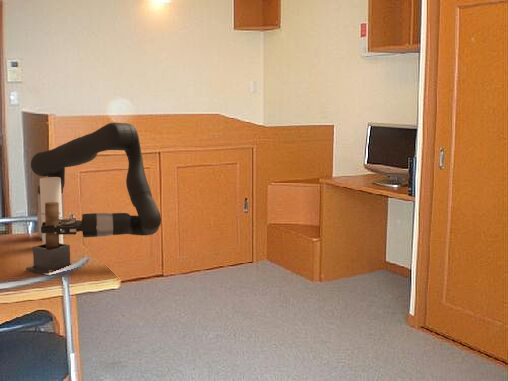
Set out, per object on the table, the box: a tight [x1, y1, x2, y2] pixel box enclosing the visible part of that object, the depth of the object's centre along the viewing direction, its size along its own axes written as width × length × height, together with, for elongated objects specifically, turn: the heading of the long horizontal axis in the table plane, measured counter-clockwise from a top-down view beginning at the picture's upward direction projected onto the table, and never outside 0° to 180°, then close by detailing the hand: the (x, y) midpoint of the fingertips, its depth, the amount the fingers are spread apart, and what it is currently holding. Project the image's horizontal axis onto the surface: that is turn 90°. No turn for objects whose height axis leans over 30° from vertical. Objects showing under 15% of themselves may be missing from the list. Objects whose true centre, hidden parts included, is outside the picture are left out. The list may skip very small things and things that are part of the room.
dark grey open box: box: [25, 243, 73, 275], centre depth 192 cm, size 11×11×8 cm
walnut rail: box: [45, 202, 59, 249], centre depth 191 cm, size 4×4×20 cm
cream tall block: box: [39, 176, 64, 244], centre depth 219 cm, size 7×7×25 cm
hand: (41, 227), depth 190 cm, fingers open, 5 cm apart
